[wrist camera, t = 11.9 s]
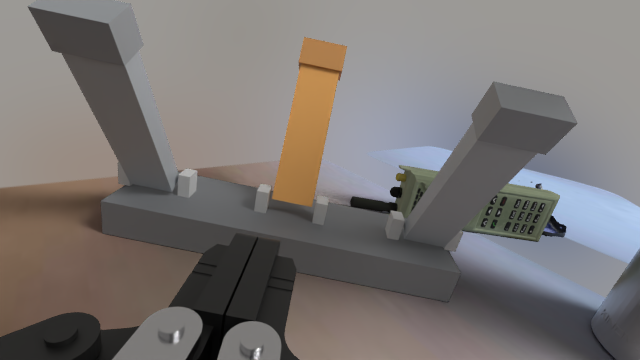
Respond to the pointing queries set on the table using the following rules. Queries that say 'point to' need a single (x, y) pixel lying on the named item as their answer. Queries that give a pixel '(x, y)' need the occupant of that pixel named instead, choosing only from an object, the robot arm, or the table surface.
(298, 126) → the orange paddle
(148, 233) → the pegged base beam
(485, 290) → the table surface
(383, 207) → the handheld radio
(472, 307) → the table surface
